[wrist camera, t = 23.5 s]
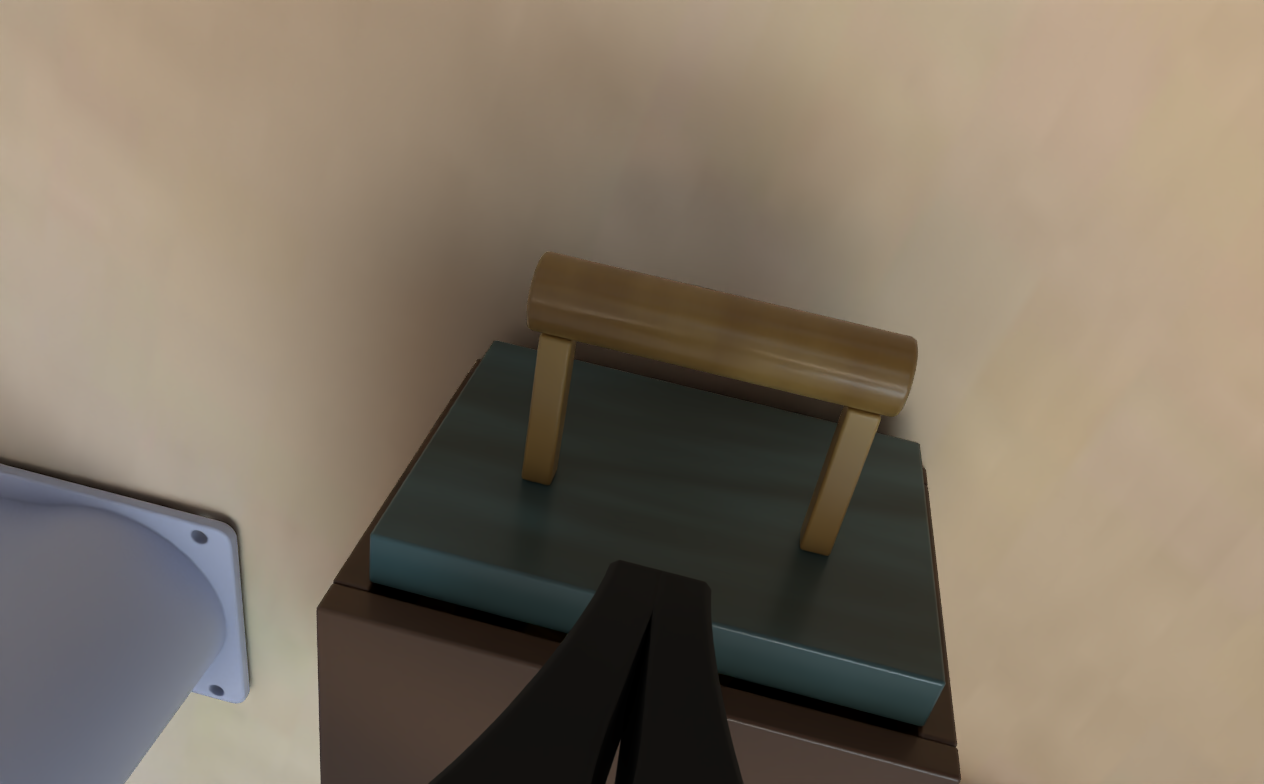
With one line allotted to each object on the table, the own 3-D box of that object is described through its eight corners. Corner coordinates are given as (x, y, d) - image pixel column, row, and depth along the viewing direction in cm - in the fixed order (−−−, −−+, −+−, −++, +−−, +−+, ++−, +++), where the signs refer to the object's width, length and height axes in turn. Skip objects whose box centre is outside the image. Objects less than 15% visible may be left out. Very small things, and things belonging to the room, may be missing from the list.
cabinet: (477, 357, 24) (314, 607, 17) (927, 467, 24) (963, 780, 16) (446, 701, 32) (324, 981, 24) (788, 794, 31) (770, 1112, 24)
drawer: (512, 147, 20) (372, 299, 14) (996, 258, 20) (1061, 465, 14) (460, 682, 30) (361, 909, 24) (786, 769, 29) (769, 1026, 23)
